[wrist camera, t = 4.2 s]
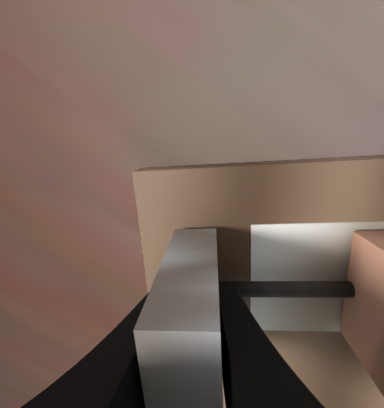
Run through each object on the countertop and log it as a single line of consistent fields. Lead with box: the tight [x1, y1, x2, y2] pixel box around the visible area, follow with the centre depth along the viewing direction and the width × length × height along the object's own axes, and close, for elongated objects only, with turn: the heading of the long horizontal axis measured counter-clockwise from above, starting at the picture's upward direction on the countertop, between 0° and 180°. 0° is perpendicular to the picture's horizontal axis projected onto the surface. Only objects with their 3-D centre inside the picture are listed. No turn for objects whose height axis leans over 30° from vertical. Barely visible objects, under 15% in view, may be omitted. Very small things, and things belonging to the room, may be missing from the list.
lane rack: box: [132, 155, 384, 408], centre depth 10 cm, size 19×17×4 cm
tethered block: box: [133, 228, 384, 408], centre depth 7 cm, size 11×5×5 cm, turn 93°
